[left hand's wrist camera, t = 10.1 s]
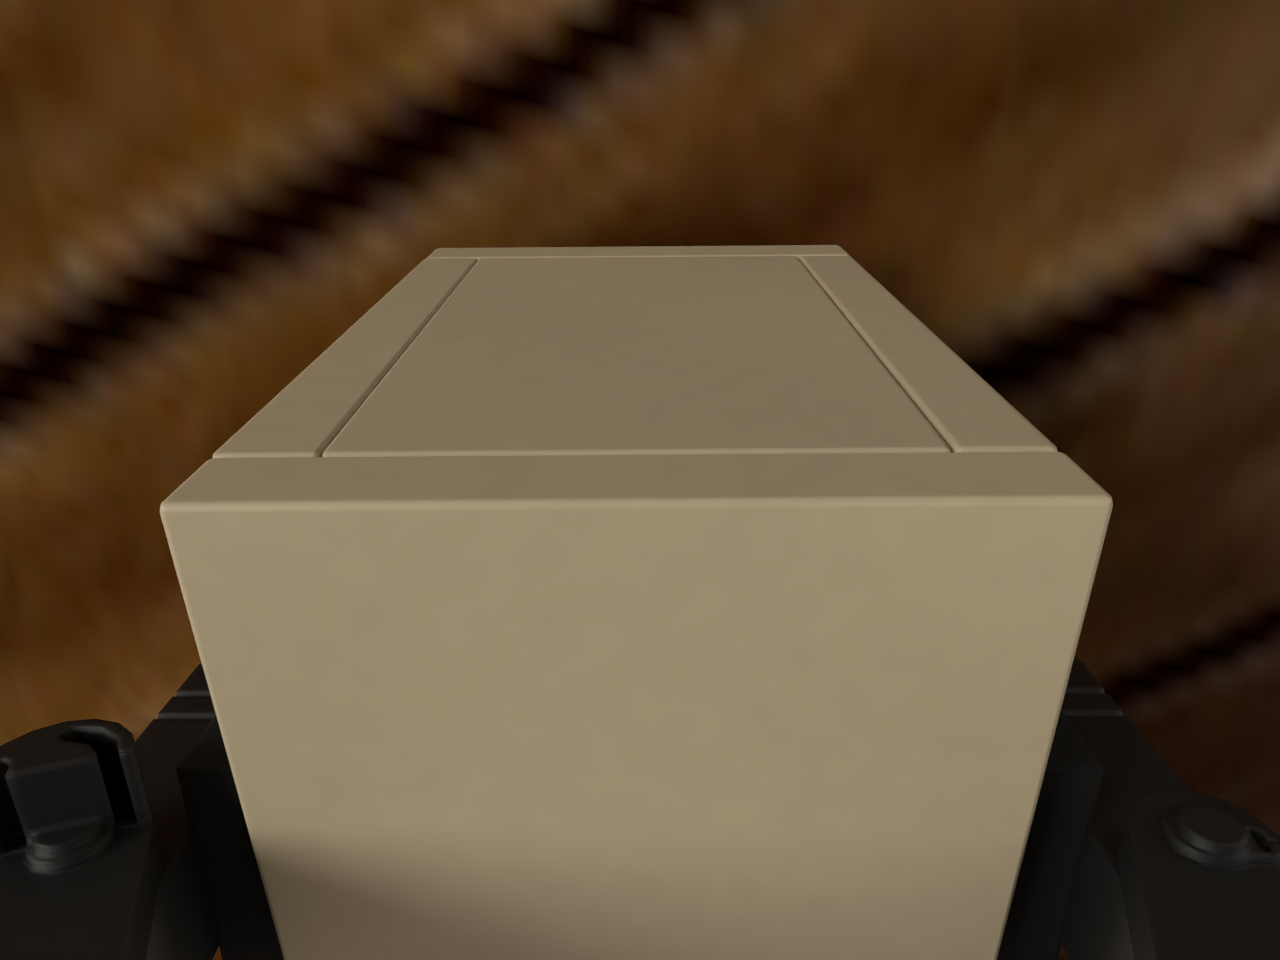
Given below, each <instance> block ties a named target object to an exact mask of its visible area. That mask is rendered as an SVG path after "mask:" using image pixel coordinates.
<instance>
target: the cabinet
mask: <svg viewBox="0 0 1280 960" xmlns="http://www.w3.org/2000/svg"><path fill="white" fill-rule="evenodd" d="M1112 507H1113V502H1112V497H1111V496H1110V495H1109V494H1108V493H1107V492H1106V491H1105V490H1104V489H1103V488H1102V487H1101V486H1099V485H1098V484H1097V483H1096V482H1095V481H1094V480H1093V479H1092V478H1091V477H1090V476H1089V475H1088V474H1086V473H1085V472H1084V471H1083V470H1082V469H1081V468H1080V467H1079V466H1078V465H1077V464H1076V463H1075V462H1073V461H1072V460H1071V459H1070V458H1069V457H1068V456H1067V455H1066V454H1063V453H1061V452H1058V451H1057V447H1056V446H1055V445H1054V444H1053V443H1052V442H1051V441H1049V440H1048V439H1047V438H1046V437H1045V436H1044V435H1043V434H1042V433H1041V432H1040V431H1039V430H1038V429H1036V428H1035V427H1034V426H1033V425H1032V424H1031V423H1030V422H1029V421H1028V420H1027V419H1026V418H1025V417H1023V416H1022V415H1021V414H1020V413H1019V412H1018V411H1017V410H1016V409H1015V408H1014V407H1013V406H1012V405H1011V404H1009V403H1008V402H1007V401H1006V400H1005V399H1004V398H1003V397H1002V396H1001V395H1000V394H999V393H998V392H996V391H995V390H994V389H993V388H992V387H991V386H990V385H989V384H988V383H987V382H986V381H985V380H984V379H982V378H981V377H980V376H979V375H978V374H977V373H976V372H975V371H974V370H973V369H972V368H971V367H969V366H968V365H967V364H966V363H965V362H964V361H963V360H962V359H961V358H960V357H959V356H958V355H957V354H955V353H954V352H953V351H952V350H951V349H950V348H949V347H948V346H947V345H946V344H945V343H944V342H942V341H941V340H940V339H939V338H938V337H937V336H936V335H935V334H934V333H933V332H932V331H931V330H930V329H928V328H927V327H926V326H925V325H924V324H923V323H922V322H921V321H920V320H919V319H918V318H917V317H915V316H914V315H913V314H912V313H911V312H910V311H909V310H908V309H907V308H906V307H905V306H904V305H902V304H901V303H900V302H899V301H898V300H897V299H896V298H895V297H894V296H893V295H892V294H891V293H890V292H888V291H887V290H886V289H885V288H884V287H883V286H882V285H881V284H880V283H879V282H878V281H877V280H875V279H874V278H873V277H872V276H871V275H870V274H869V273H868V272H867V271H866V270H865V269H864V268H863V267H861V266H860V265H859V264H858V263H857V262H856V261H855V260H854V259H853V258H852V257H850V256H849V254H848V253H847V252H846V251H845V250H843V249H842V248H841V247H840V246H838V245H776V246H649V247H522V248H438V249H436V250H435V251H434V252H433V253H432V254H431V255H430V256H428V257H427V258H426V259H424V260H423V261H422V262H421V263H420V264H419V265H418V266H417V267H416V268H414V269H413V270H412V271H411V272H410V273H409V274H408V275H407V276H406V277H405V278H404V279H403V280H401V281H400V282H399V283H398V284H397V285H396V286H395V287H394V288H393V289H392V290H391V291H389V292H388V293H387V294H386V295H385V296H384V297H383V298H382V299H381V300H380V301H379V302H378V303H376V304H375V305H374V306H373V307H372V308H371V309H370V310H369V311H368V312H367V313H366V314H365V315H363V316H362V317H361V318H360V319H359V320H358V321H357V322H356V323H355V324H354V325H353V326H352V327H350V328H349V329H348V330H347V331H346V332H345V333H344V334H343V335H342V336H341V337H340V338H338V339H337V340H336V341H335V342H334V343H333V344H332V345H331V346H330V347H329V348H328V349H327V350H325V351H324V352H323V353H322V354H321V355H320V356H319V357H318V358H317V359H316V360H315V361H314V362H312V363H311V364H310V365H309V366H308V367H307V368H306V369H305V370H304V371H303V372H302V373H301V374H299V375H298V376H297V377H296V378H295V379H294V380H293V381H292V382H291V383H290V384H289V385H287V386H286V387H285V388H284V389H283V390H282V391H281V392H280V393H279V394H278V395H277V396H276V397H274V398H273V399H272V400H271V401H270V402H269V403H268V404H267V405H266V406H265V407H264V408H263V409H261V410H260V411H259V412H258V413H257V414H256V415H255V416H254V417H253V418H252V419H251V420H250V421H248V422H247V423H246V424H245V425H244V426H243V427H242V428H241V429H240V430H239V431H238V432H236V433H235V434H234V435H233V436H232V437H231V438H230V439H229V440H228V441H227V442H226V443H225V444H223V445H222V446H221V447H220V448H219V449H218V450H217V451H216V452H215V453H214V454H213V458H212V459H210V460H208V461H206V462H205V463H204V464H203V465H202V466H201V467H200V468H199V469H198V470H197V471H196V472H194V473H193V474H192V475H191V476H190V477H189V478H188V479H187V480H186V481H185V482H184V483H183V484H181V485H180V486H179V487H178V488H177V489H176V490H175V491H174V492H173V493H172V494H171V495H170V496H168V497H167V498H166V499H165V500H164V501H163V502H162V503H161V506H160V515H161V518H162V522H163V526H164V529H165V533H166V536H167V540H168V544H169V547H170V551H171V554H172V558H173V562H174V565H175V569H176V572H177V576H178V580H179V583H180V587H181V590H182V594H183V598H184V601H185V605H186V608H187V612H188V616H189V619H190V623H191V626H192V630H193V634H194V637H195V641H196V644H197V648H198V652H199V655H200V659H201V662H202V666H203V670H204V673H205V677H206V680H207V684H208V688H209V691H210V695H211V698H212V702H213V706H214V709H215V713H216V716H217V720H218V724H219V727H220V731H221V734H222V738H223V742H224V745H225V749H226V752H227V756H228V760H229V763H230V767H231V770H232V774H233V778H234V781H235V785H236V788H237V792H238V796H239V799H240V803H241V806H242V810H243V814H244V817H245V821H246V824H247V828H248V832H249V835H250V839H251V842H252V846H253V850H254V853H255V857H256V860H257V864H258V868H259V871H260V875H261V878H262V882H263V886H264V889H265V893H266V896H267V900H268V903H269V907H270V911H271V914H272V918H273V921H274V925H275V929H276V932H277V936H278V939H279V943H280V947H281V950H282V954H283V957H284V960H997V957H998V953H999V950H1000V946H1001V942H1002V938H1003V934H1004V930H1005V926H1006V922H1007V918H1008V914H1009V910H1010V906H1011V903H1012V899H1013V895H1014V891H1015V887H1016V883H1017V879H1018V875H1019V871H1020V867H1021V863H1022V860H1023V856H1024V852H1025V848H1026V844H1027V840H1028V836H1029V832H1030V828H1031V824H1032V820H1033V817H1034V813H1035V809H1036V805H1037V801H1038V797H1039V793H1040V789H1041V785H1042V781H1043V777H1044V773H1045V770H1046V766H1047V762H1048V758H1049V754H1050V750H1051V746H1052V742H1053V738H1054V734H1055V730H1056V727H1057V723H1058V719H1059V715H1060V711H1061V707H1062V703H1063V699H1064V695H1065V691H1066V687H1067V683H1068V680H1069V676H1070V672H1071V668H1072V664H1073V660H1074V656H1075V652H1076V648H1077V644H1078V640H1079V637H1080V633H1081V629H1082V625H1083V621H1084V617H1085V613H1086V609H1087V605H1088V601H1089V597H1090V593H1091V590H1092V586H1093V582H1094V578H1095V574H1096V570H1097V566H1098V562H1099V558H1100V554H1101V550H1102V547H1103V543H1104V539H1105V535H1106V531H1107V527H1108V523H1109V519H1110V515H1111V511H1112Z"/></svg>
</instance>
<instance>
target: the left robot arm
mask: <svg viewBox="0 0 1280 960" xmlns="http://www.w3.org/2000/svg"><path fill="white" fill-rule="evenodd" d="M1061 943H1062V944H1063V946H1064V948H1065V950H1066V952H1067V954H1068V956H1069V958H1070V960H1280V837H1279V836H1278V835H1277V834H1276V833H1275V832H1273V831H1272V830H1271V829H1270V828H1268V827H1267V826H1266V825H1265V824H1263V823H1262V822H1261V821H1260V820H1259V819H1257V818H1256V817H1255V816H1253V815H1251V814H1249V813H1247V812H1245V811H1244V810H1242V809H1240V808H1238V807H1236V806H1234V805H1232V804H1230V803H1228V802H1226V801H1224V800H1221V799H1218V798H1215V797H1212V796H1209V795H1205V794H1202V793H1199V792H1196V791H1191V790H1188V789H1187V788H1186V787H1185V785H1184V784H1183V783H1182V782H1181V781H1180V779H1179V778H1178V777H1177V776H1176V775H1175V773H1174V772H1173V771H1172V770H1171V769H1170V767H1169V766H1168V765H1167V764H1166V763H1165V761H1164V760H1163V759H1162V758H1161V756H1160V755H1159V754H1158V753H1157V752H1156V750H1155V749H1154V748H1153V747H1152V746H1151V744H1150V743H1149V742H1148V741H1147V740H1146V738H1145V737H1144V736H1143V735H1142V734H1141V732H1140V731H1139V730H1138V729H1137V728H1136V726H1135V725H1134V724H1133V723H1132V722H1131V720H1130V719H1129V718H1128V717H1127V716H1123V714H1122V710H1121V708H1120V707H1119V706H1118V705H1117V704H1116V702H1115V701H1114V700H1113V699H1112V698H1111V696H1110V695H1109V694H1105V693H1104V688H1103V687H1102V686H1101V684H1100V683H1099V682H1098V681H1097V680H1096V678H1095V677H1094V676H1093V675H1092V674H1091V672H1090V671H1089V670H1088V669H1087V668H1086V666H1085V665H1084V664H1083V663H1082V662H1081V661H1079V660H1078V659H1076V658H1075V657H1074V660H1073V664H1072V668H1071V672H1070V676H1069V680H1068V683H1067V687H1066V691H1065V695H1064V699H1063V703H1062V707H1061V711H1060V715H1059V719H1058V723H1057V727H1056V730H1055V734H1054V738H1053V742H1052V746H1051V750H1050V754H1049V758H1048V762H1047V766H1046V770H1045V773H1044V777H1043V781H1042V785H1041V789H1040V793H1039V797H1038V801H1037V805H1036V809H1035V813H1034V817H1033V820H1032V824H1031V828H1030V832H1029V836H1028V840H1027V844H1026V848H1025V852H1024V856H1023V860H1022V863H1021V867H1020V871H1019V875H1018V879H1017V883H1016V887H1015V891H1014V895H1013V899H1012V903H1011V906H1010V910H1009V914H1008V918H1007V922H1006V926H1005V930H1004V934H1003V938H1002V942H1001V946H1000V950H999V953H998V957H997V960H1057V959H1058V955H1059V951H1060V947H1061ZM219 946H220V951H221V955H222V959H223V960H284V957H283V954H282V950H281V947H280V943H279V939H278V936H277V932H276V929H275V925H274V921H273V918H272V914H271V911H270V907H269V903H268V900H267V896H266V893H265V889H264V886H263V882H262V878H261V875H260V871H259V868H258V864H257V860H256V857H255V853H254V850H253V846H252V842H251V839H250V835H249V832H248V828H247V824H246V821H245V817H244V814H243V810H242V806H241V803H240V799H239V796H238V792H237V788H236V785H235V781H234V778H233V774H232V770H231V767H230V763H229V760H228V756H227V752H226V749H225V745H224V742H223V738H222V734H221V731H220V727H219V724H218V720H217V716H216V713H215V709H214V706H213V702H212V698H211V695H210V691H209V688H208V684H207V680H206V677H205V673H204V670H203V666H202V663H201V664H200V665H198V666H197V668H196V669H195V670H194V671H193V673H192V674H191V675H190V676H189V677H188V679H187V680H186V681H185V682H184V683H183V685H182V686H181V687H180V688H179V689H178V691H177V696H176V697H172V698H171V699H170V700H169V702H168V703H167V704H166V705H165V706H164V708H163V709H162V710H161V711H160V712H159V717H158V719H154V720H153V721H152V722H151V723H150V725H149V726H148V727H147V728H146V729H145V731H144V732H143V733H142V734H141V735H140V737H139V738H138V739H137V740H136V742H134V738H133V735H132V733H131V732H130V731H128V730H127V729H126V728H125V727H123V726H122V725H121V724H119V723H116V722H110V721H105V720H99V719H89V720H77V721H66V722H63V723H59V724H55V725H52V726H48V727H45V728H41V729H37V730H34V731H32V732H29V733H27V734H25V735H23V736H21V737H19V738H16V739H14V740H12V741H10V742H8V743H6V744H3V745H1V746H0V960H212V959H213V957H214V955H215V953H216V951H217V949H218V947H219Z"/></svg>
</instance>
